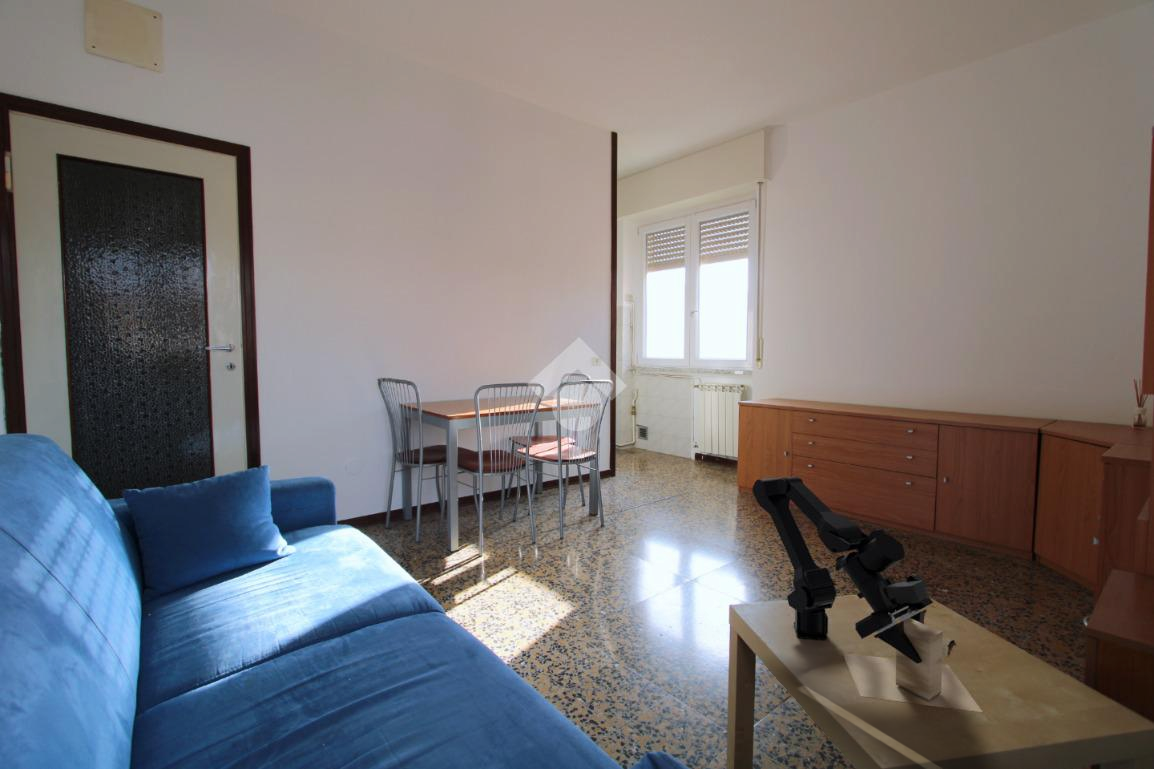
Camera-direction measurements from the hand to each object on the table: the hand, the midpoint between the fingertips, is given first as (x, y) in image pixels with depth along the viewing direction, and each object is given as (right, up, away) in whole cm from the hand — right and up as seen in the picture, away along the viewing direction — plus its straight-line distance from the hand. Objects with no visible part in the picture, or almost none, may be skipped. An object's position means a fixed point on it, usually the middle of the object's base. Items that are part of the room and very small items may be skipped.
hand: (926, 658), depth 101 cm
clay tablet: (+12, -8, +20) cm, 24 cm away
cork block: (-1, -7, +2) cm, 7 cm away
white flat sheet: (-1, -8, +5) cm, 9 cm away
